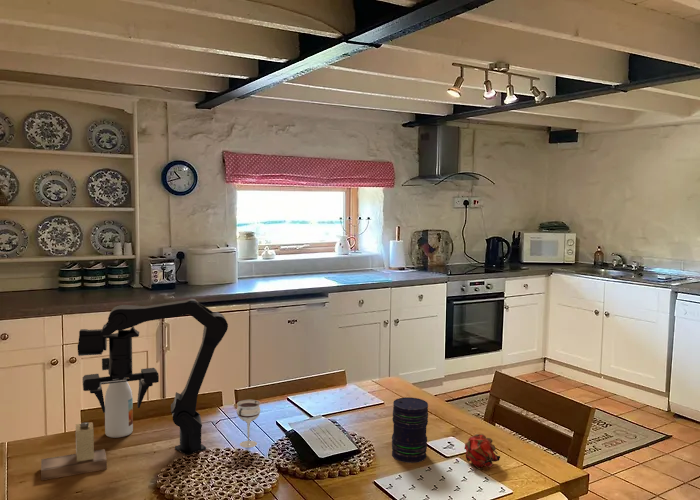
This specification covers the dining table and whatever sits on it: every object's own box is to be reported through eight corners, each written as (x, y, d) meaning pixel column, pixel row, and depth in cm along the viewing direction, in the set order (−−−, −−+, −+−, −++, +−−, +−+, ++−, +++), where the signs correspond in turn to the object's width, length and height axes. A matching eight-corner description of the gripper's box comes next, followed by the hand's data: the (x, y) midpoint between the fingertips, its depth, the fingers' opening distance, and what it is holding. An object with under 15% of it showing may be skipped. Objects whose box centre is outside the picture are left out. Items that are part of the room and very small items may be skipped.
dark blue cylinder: (429, 451, 165) (431, 400, 164) (422, 465, 156) (424, 411, 154) (396, 445, 168) (397, 395, 167) (387, 459, 159) (388, 406, 158)
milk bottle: (123, 439, 168) (122, 372, 166) (99, 436, 169) (98, 370, 168) (138, 429, 175) (137, 365, 174) (115, 427, 177) (114, 363, 175)
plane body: (104, 458, 156) (104, 449, 155) (106, 469, 149) (106, 459, 149) (41, 468, 149) (41, 459, 149) (41, 480, 143) (40, 470, 142)
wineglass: (264, 442, 168) (265, 401, 167) (251, 450, 162) (251, 409, 161) (245, 437, 171) (245, 398, 170) (231, 446, 165) (231, 405, 164)
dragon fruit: (473, 459, 164) (490, 485, 152) (452, 444, 162) (466, 469, 150) (492, 436, 163) (510, 461, 152) (471, 421, 161) (487, 445, 149)
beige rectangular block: (92, 451, 153) (92, 419, 152) (93, 459, 149) (93, 425, 148) (76, 454, 151) (75, 421, 151) (76, 461, 147) (76, 428, 146)
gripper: (152, 343, 166) (153, 396, 167) (81, 349, 158) (82, 405, 159) (158, 352, 156) (159, 408, 157) (82, 359, 148) (84, 419, 149)
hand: (121, 409), depth 156 cm, fingers open, 8 cm apart
